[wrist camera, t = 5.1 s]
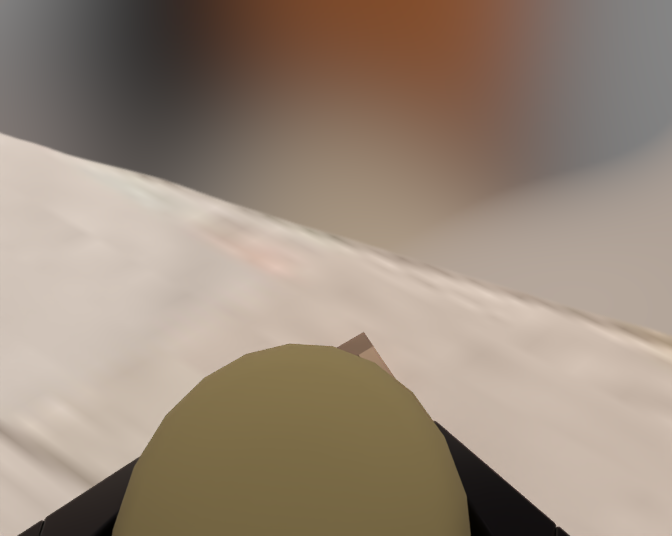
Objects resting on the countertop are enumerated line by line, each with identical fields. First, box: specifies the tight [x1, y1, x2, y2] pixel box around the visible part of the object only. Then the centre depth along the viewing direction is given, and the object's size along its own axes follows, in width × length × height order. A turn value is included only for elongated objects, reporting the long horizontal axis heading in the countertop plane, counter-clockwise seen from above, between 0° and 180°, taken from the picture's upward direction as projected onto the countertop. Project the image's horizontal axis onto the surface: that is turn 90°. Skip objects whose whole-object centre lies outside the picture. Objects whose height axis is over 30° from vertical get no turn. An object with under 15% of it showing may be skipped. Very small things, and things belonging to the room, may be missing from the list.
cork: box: [112, 344, 471, 536], centre depth 9 cm, size 6×6×11 cm
